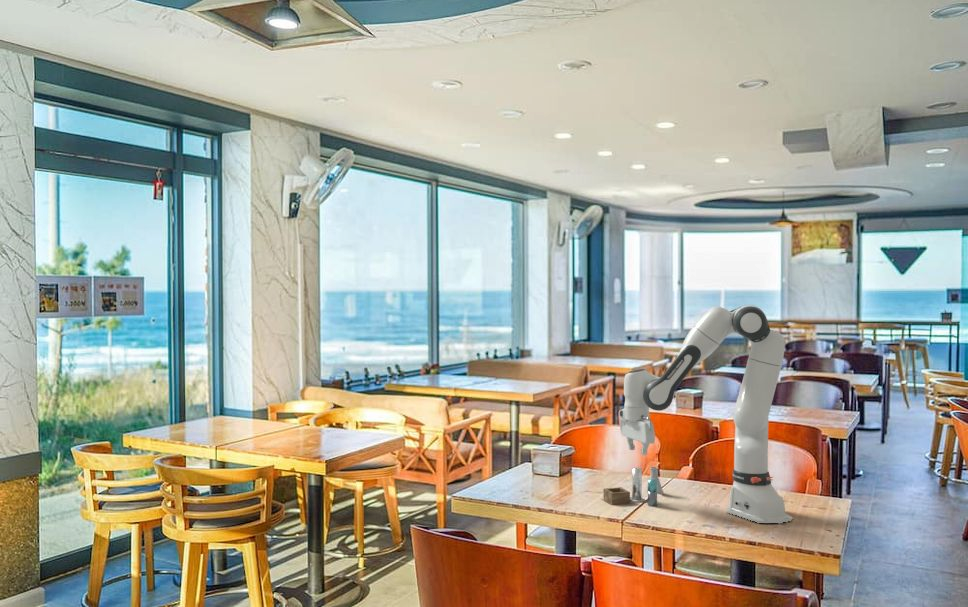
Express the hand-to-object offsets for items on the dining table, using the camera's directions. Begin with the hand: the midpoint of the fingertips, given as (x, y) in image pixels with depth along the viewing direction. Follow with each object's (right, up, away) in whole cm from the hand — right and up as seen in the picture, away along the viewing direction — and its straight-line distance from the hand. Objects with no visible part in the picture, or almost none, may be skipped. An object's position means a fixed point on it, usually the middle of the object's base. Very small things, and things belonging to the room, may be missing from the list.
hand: (637, 452), depth 274 cm
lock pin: (0, -17, 0) cm, 17 cm away
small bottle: (+4, -18, -7) cm, 20 cm away
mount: (-5, -18, -1) cm, 19 cm away
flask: (+9, -19, +12) cm, 24 cm away
